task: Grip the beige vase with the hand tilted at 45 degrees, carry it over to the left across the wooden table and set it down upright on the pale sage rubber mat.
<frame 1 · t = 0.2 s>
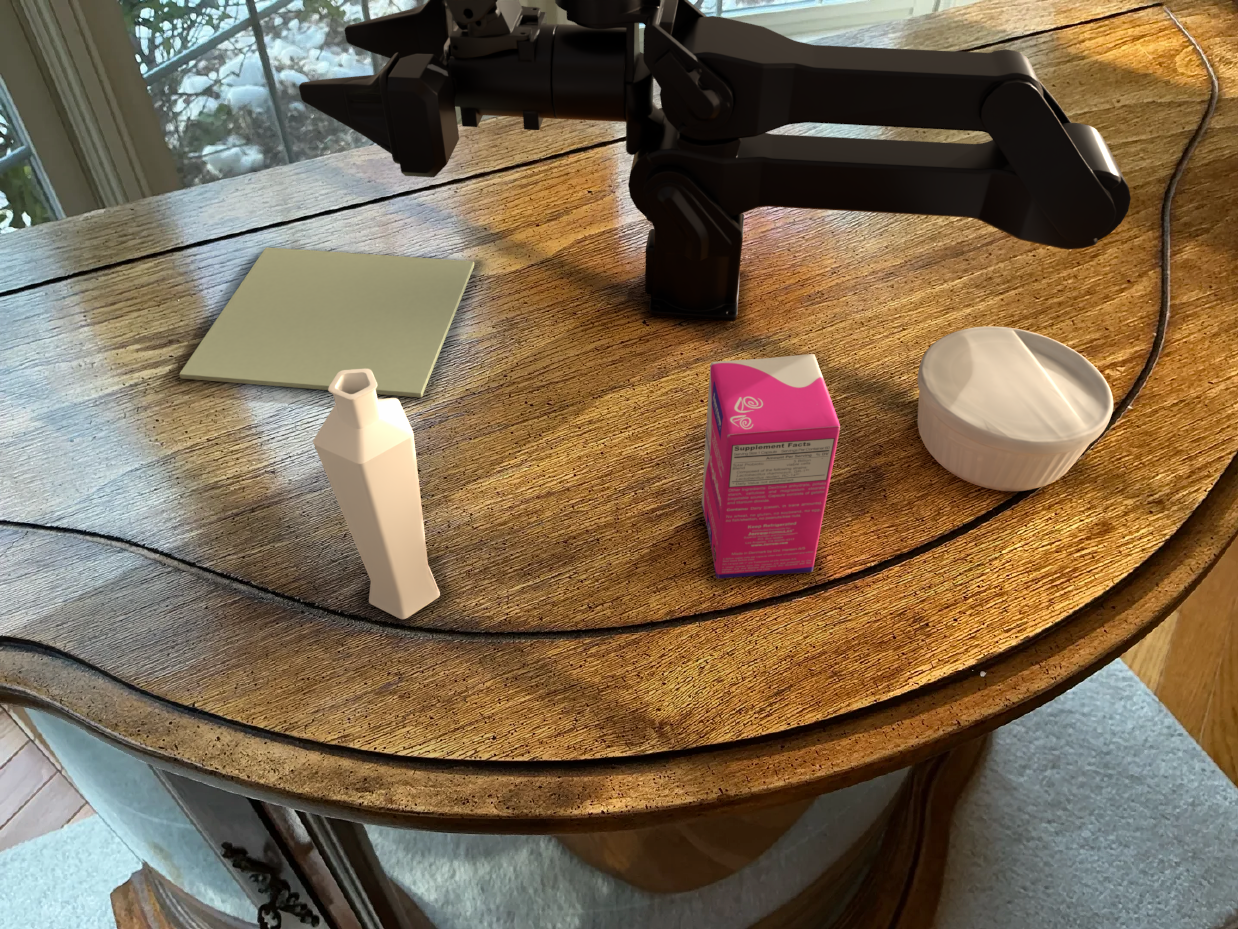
hand: (324, 61, 65), 17 cm above the cabinet, tool horizontal, fingers open, 9 cm apart
ramekin: (992, 445, 63), on the cabinet
supplement box: (753, 542, 57), on the cabinet
mat: (337, 318, 73), on the cabinet
beige vase: (408, 592, 55), on the cabinet
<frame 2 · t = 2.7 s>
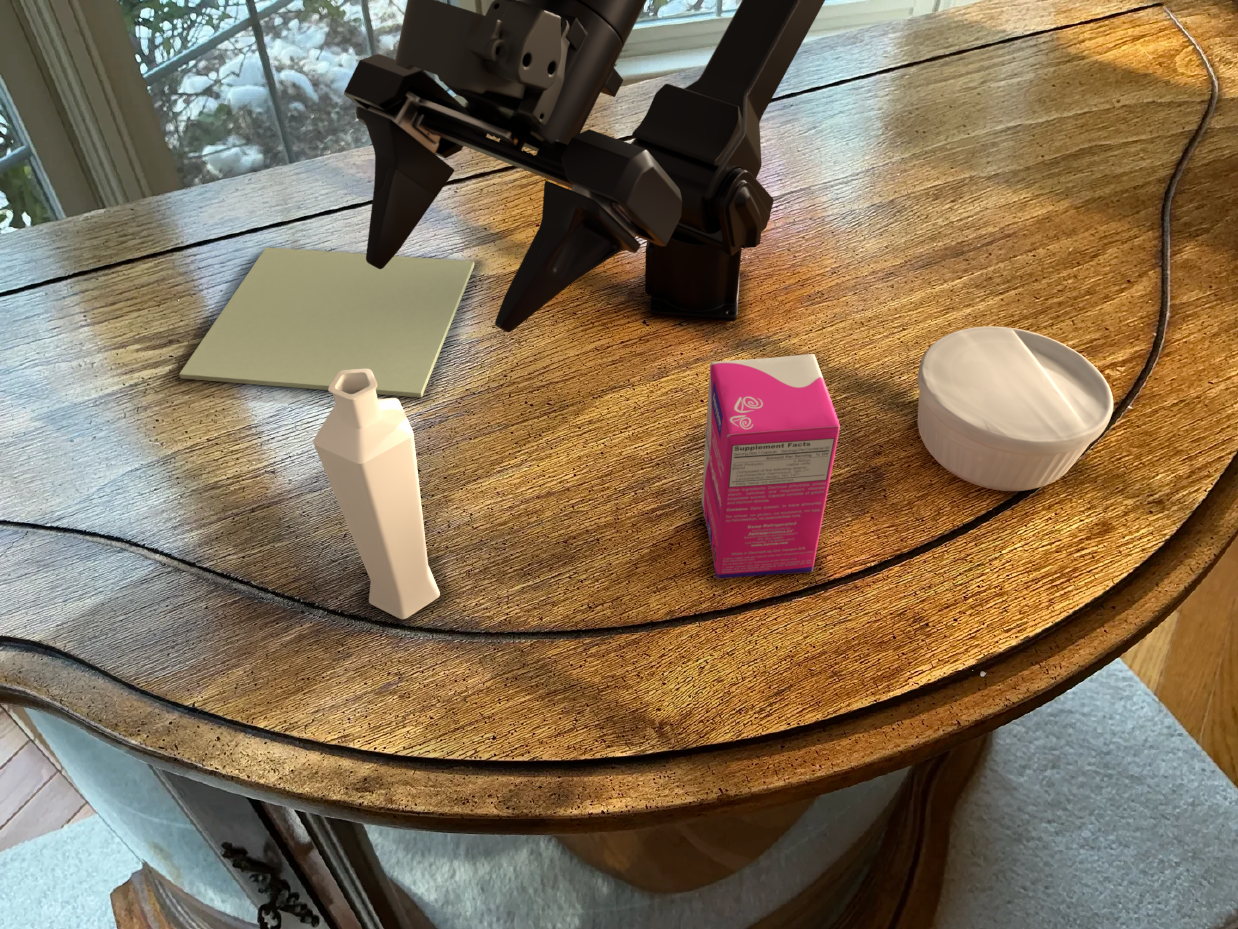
hand: (435, 296, 51), 14 cm above the cabinet, tool tilted 50°, fingers open, 9 cm apart
nothing on the cabinet moved.
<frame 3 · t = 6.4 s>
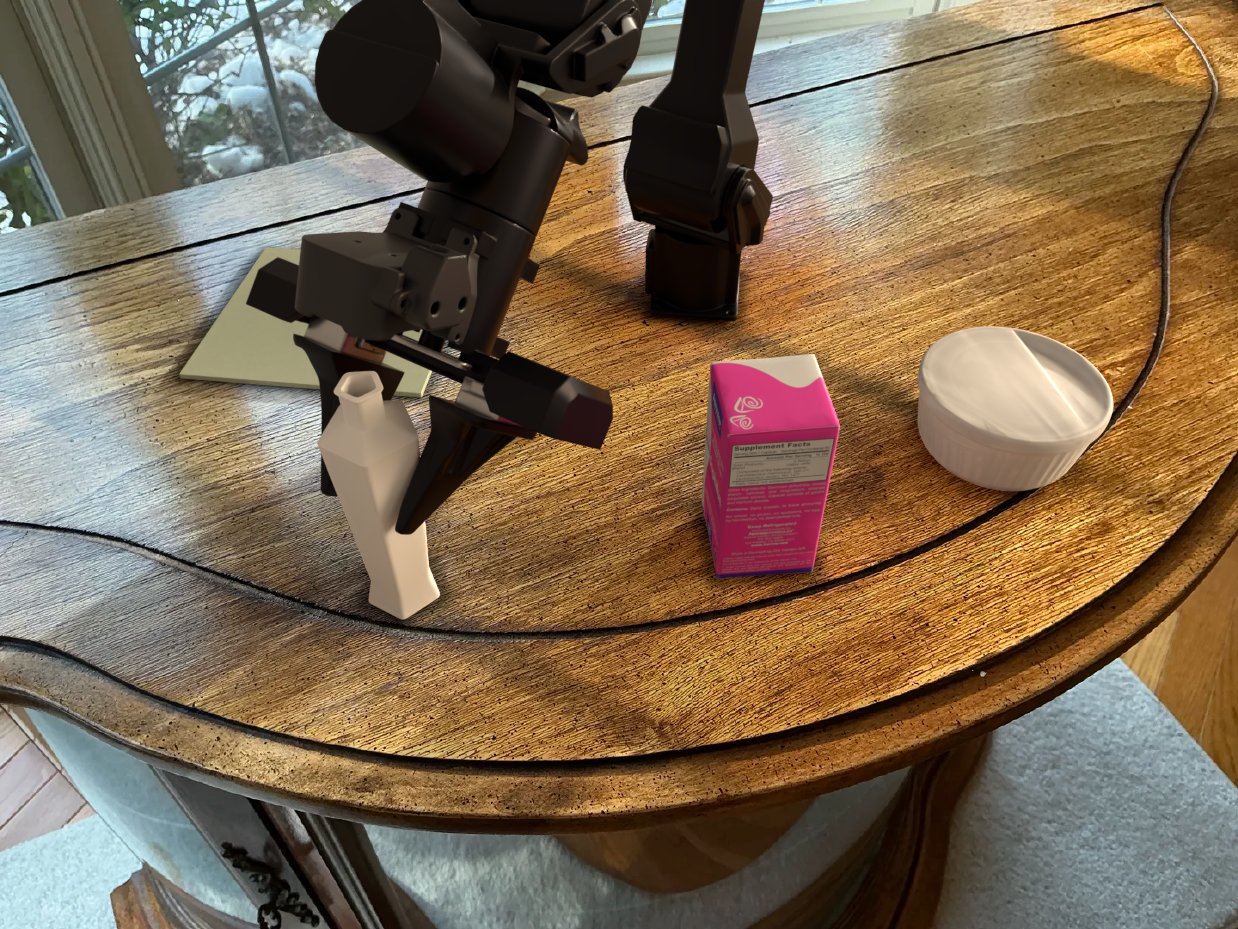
hand: (365, 513, 48), 8 cm above the cabinet, tool tilted 45°, fingers closed on beige vase, 4 cm apart
beige vase: (408, 592, 55), on the cabinet, touching gripper
everything else where it was.
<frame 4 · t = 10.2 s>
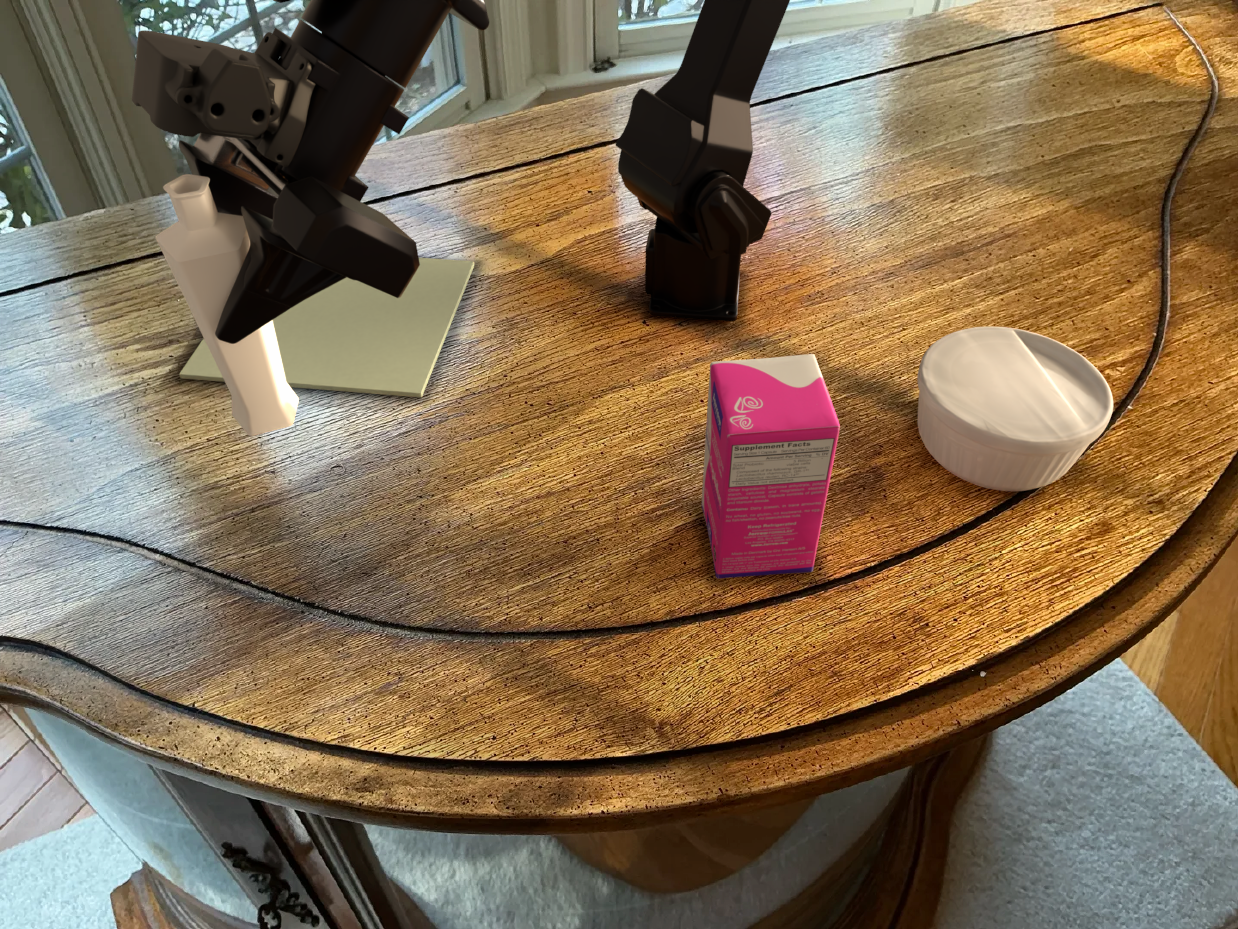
hand: (206, 318, 52), 12 cm above the cabinet, tool tilted 45°, fingers closed on beige vase, 4 cm apart
beige vase: (270, 416, 58), point 4 cm above the cabinet, touching gripper
everything else where it was.
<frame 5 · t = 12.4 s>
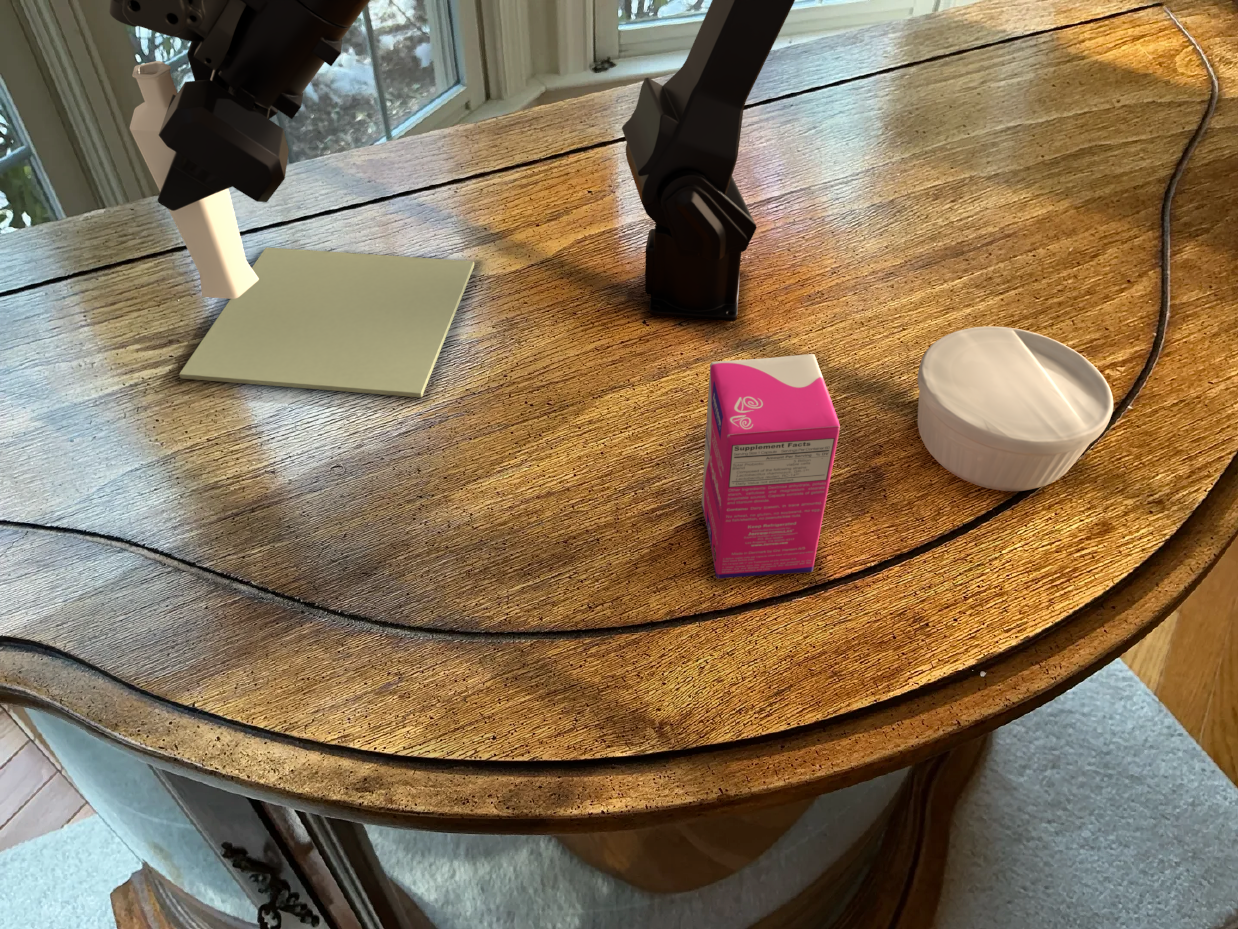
hand: (171, 185, 62), 12 cm above the cabinet, tool tilted 45°, fingers closed on beige vase, 4 cm apart
beige vase: (230, 286, 68), point 4 cm above the cabinet, touching gripper
everything else where it was.
when the fingers open (8 cm above the cabinet, at t = 14.2 s): beige vase stays where it is, resting on mat.
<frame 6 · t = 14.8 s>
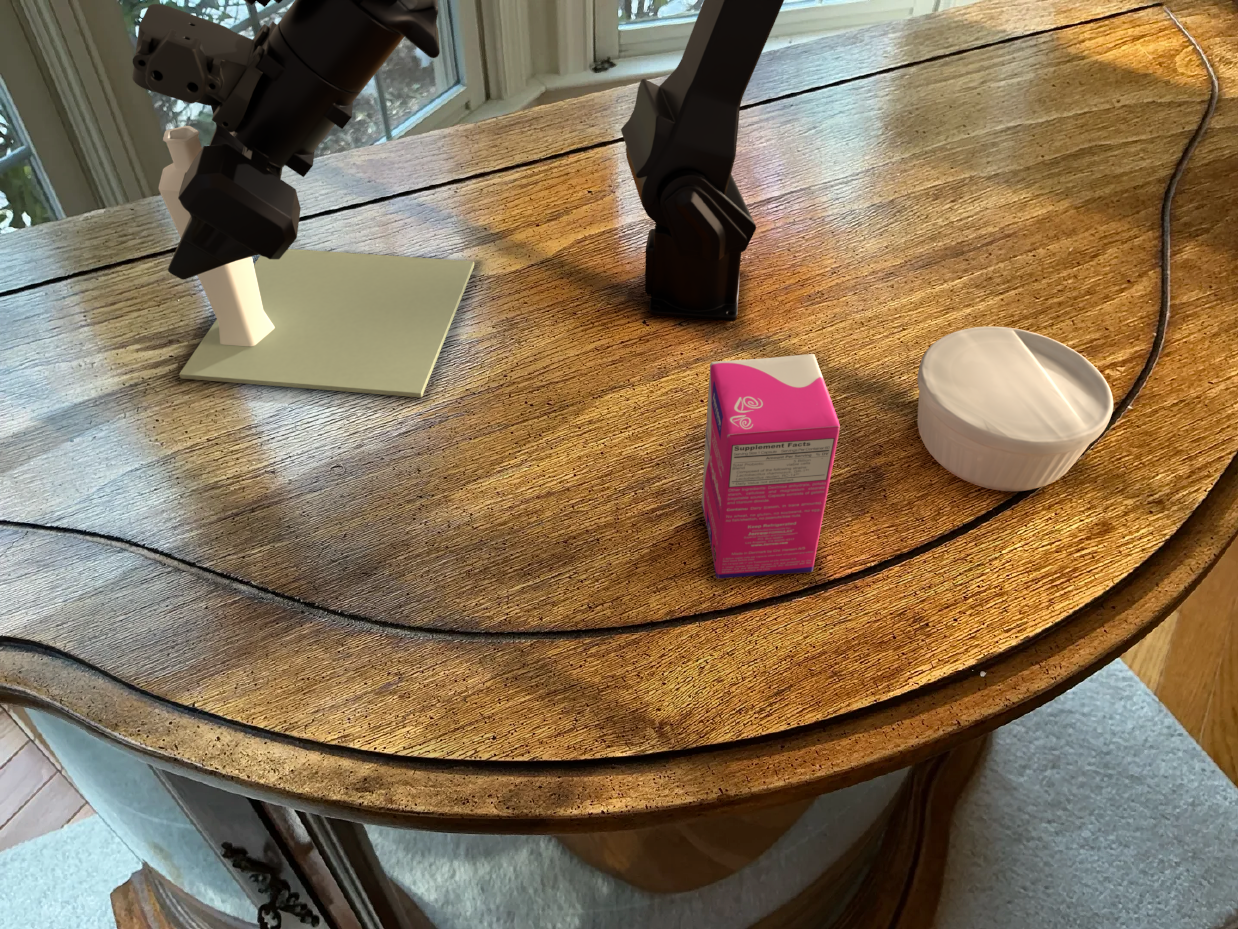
hand: (186, 235, 65), 9 cm above the cabinet, tool tilted 45°, fingers open, 9 cm apart
beige vase: (247, 334, 71), resting on mat
everything else where it was.
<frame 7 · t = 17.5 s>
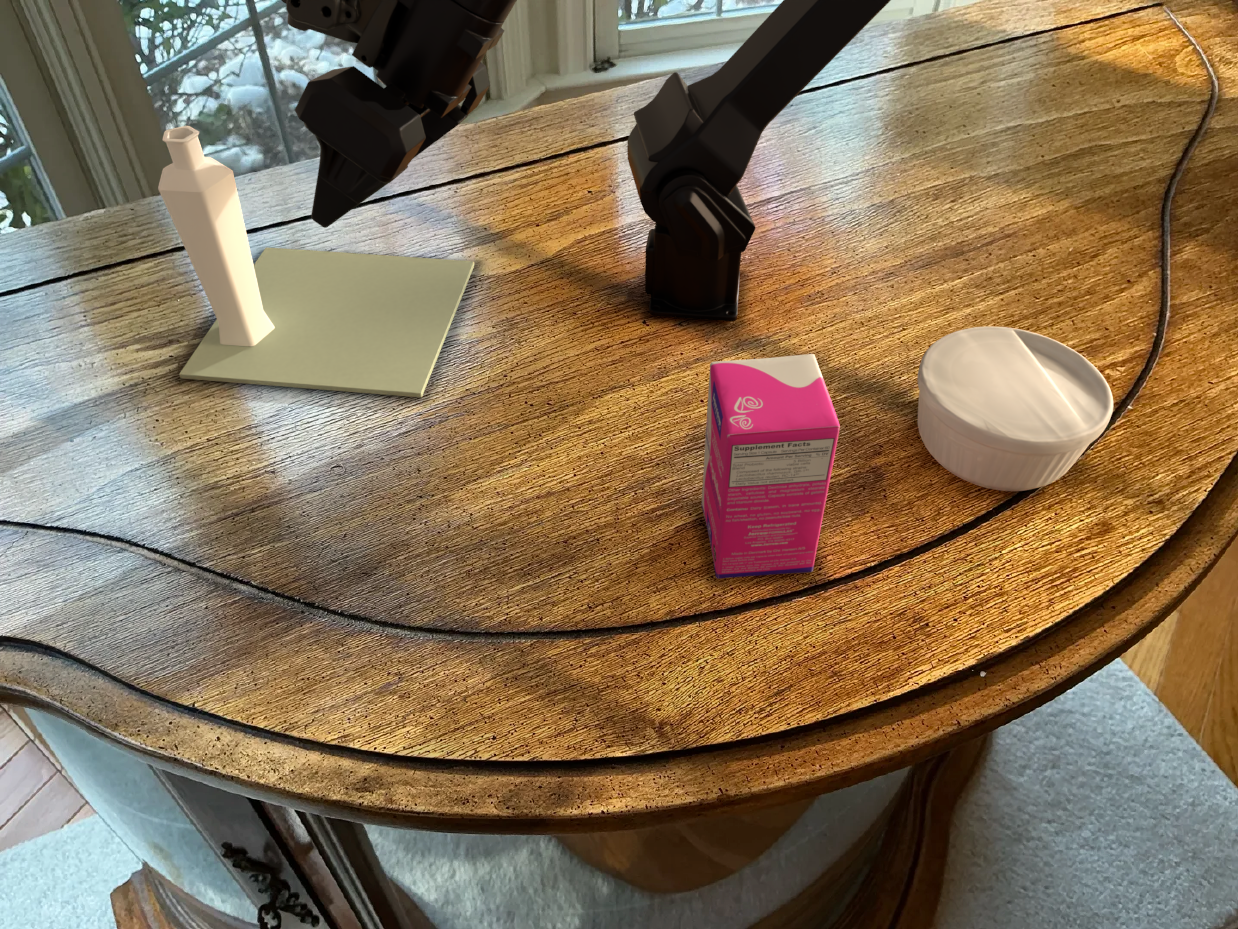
hand: (347, 199, 65), 10 cm above the cabinet, tool tilted 35°, fingers open, 9 cm apart
nothing on the cabinet moved.
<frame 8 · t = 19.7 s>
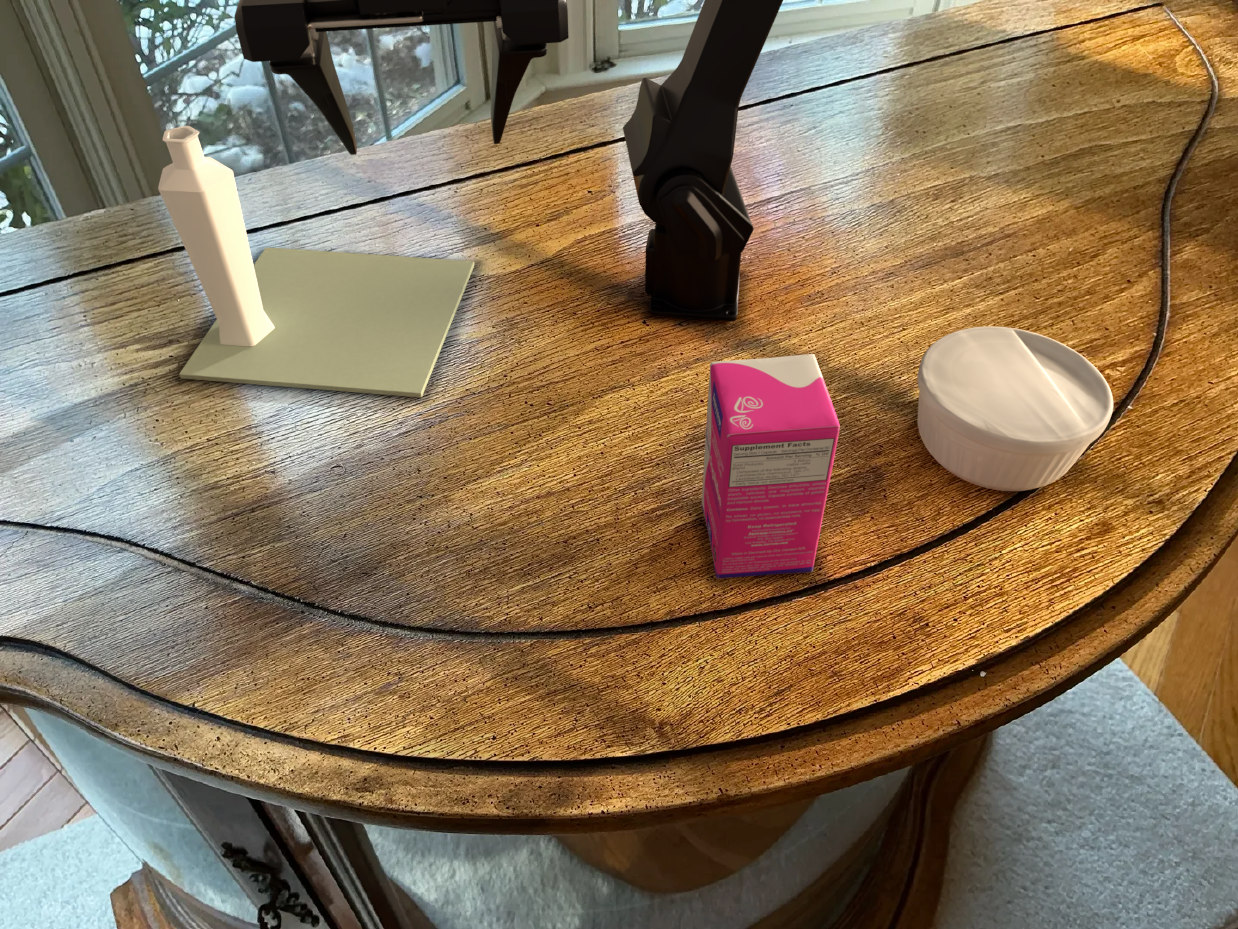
hand: (425, 146, 64), 13 cm above the cabinet, tool pointing down, fingers open, 9 cm apart
nothing on the cabinet moved.
at the end: beige vase inside the target area on the mat (6.1 cm from its centre), point 0.2 cm above the mat's base; beige vase tilted 0°; beige vase moved 27.5 cm from its start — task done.
